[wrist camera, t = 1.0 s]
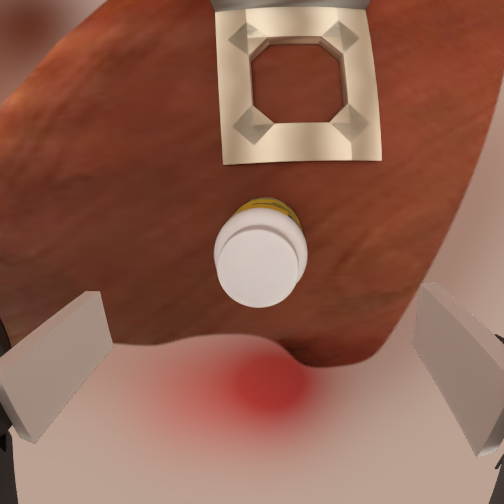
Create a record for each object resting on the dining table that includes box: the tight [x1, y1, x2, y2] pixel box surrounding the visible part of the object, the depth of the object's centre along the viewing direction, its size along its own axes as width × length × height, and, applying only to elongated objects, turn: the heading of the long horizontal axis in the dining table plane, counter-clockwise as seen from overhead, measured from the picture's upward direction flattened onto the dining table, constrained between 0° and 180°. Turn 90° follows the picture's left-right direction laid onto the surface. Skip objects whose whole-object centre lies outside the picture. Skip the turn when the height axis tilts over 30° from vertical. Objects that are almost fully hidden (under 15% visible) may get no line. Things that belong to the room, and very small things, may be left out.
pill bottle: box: [214, 197, 308, 308], centre depth 23 cm, size 6×6×11 cm
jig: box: [210, 0, 382, 165], centre depth 22 cm, size 13×18×5 cm
